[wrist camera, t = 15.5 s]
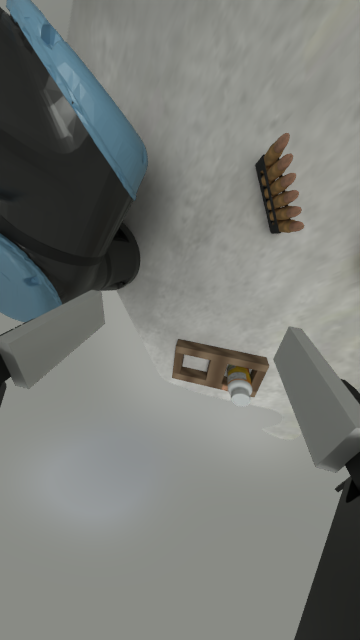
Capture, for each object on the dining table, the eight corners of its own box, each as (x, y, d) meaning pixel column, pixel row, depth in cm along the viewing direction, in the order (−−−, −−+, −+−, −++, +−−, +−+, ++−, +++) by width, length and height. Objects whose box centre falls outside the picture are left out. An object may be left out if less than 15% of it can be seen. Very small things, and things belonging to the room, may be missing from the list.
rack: (174, 370, 52) (171, 378, 49) (178, 339, 46) (175, 346, 44) (252, 388, 49) (254, 398, 46) (266, 357, 44) (269, 366, 41)
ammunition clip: (282, 228, 31) (313, 231, 21) (271, 233, 32) (295, 238, 21) (267, 157, 27) (296, 116, 17) (255, 164, 28) (275, 129, 18)
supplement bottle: (246, 378, 48) (251, 410, 39) (226, 375, 49) (226, 406, 40) (250, 362, 45) (256, 393, 37) (228, 359, 46) (229, 389, 38)
